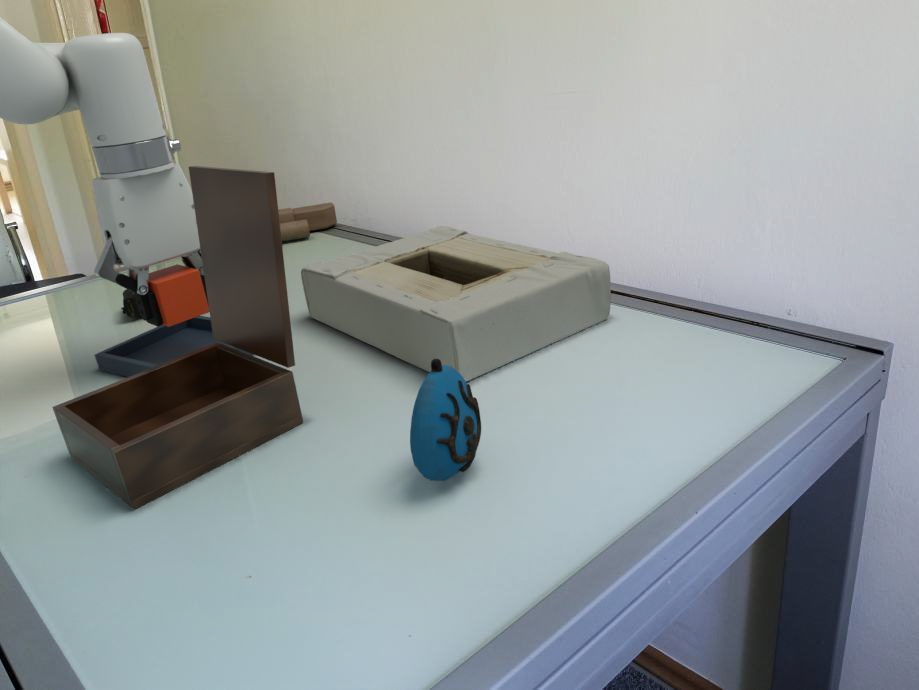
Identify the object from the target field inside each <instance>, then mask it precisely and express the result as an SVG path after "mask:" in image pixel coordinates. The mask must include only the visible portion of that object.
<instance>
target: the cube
mask: <svg viewBox="0 0 919 690" xmlns="http://www.w3.org/2000/svg"><path fill="white" fill-rule="evenodd" d="M149 289H150V292H153V293H154V294H155V296H156V300H157V303H158V307H159V310H160V313H161V317H162V320H163V324H162V325H165V326H167V327H170V326H173V325H176V324H178V323H181V322H184V321H187V320H189V319H192V318H195V317H197V316H204V315H205V314H209V313H210V311H209V306H208V303H207V299H206V295H205V291H204V288H203V284H202V280H201V276H200V273H199V270H197V269H193V268H190V267H186V266H185V265H182V264H178V263H176V264H174V265H170V266H168V267H164V268H161V269H157V270H154V271H152V272H149Z"/></svg>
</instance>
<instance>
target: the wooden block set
mask: <svg viewBox="0 0 919 690" xmlns="http://www.w3.org/2000/svg"><path fill="white" fill-rule="evenodd" d="M278 212H279V221H280V230H281V239H282V242H286V241H292V240H298V239H304V238H309V237H310V236H311V232H313V231H318V230H324V229H328V228H332V227H333V226H336V225H337V223H338V220H337V214H336V208H335V204H334V203H333V202H324V203H318V204H313V205H307V206H300V207H294V208H292V207H286V208H280V209H279V208H278Z"/></svg>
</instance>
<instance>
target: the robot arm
mask: <svg viewBox="0 0 919 690" xmlns="http://www.w3.org/2000/svg"><path fill="white" fill-rule="evenodd" d="M144 51H145V50H144V48H143V45H142V43H141V42H140V40H139V39H138V38H137V37H136V36H135V35H134V34H131V33H128V32H107V33H99V34H98V33H97V34H89V35H88V34H87V35H81V36H76V37H73V38H71V39H69V40H67V41H65V42H34V41H31V40H30V39H28V38H27V37H26V36H25V35H23V34H22V33H21V32H20V31H18V30H17V29H16V28H15V27H13V26H12V25H11V24H10V23H8V22H7V21H6V20H5V19H4V18H2V17H1V16H0V119H2V120H4V121H6V122H9V123H13V124H18V125H34V124H39V123H42V122H45V121H47V120H50V119H52V118H54V117H58V116H61V115H64V114H67V113H71V112H76V111H80V114H81V118H82V120H83V124H84V127H85V130H86V133H87V137H88V140H89V143H90V147H91V150H92V153H93V156H94V159H95V163H96V166H97V169H98V173H99V177H95V178H93V179H92V189H93V197H94V204H95V210H96V216H97V220H98V225H99V230H100V234H101V238H102V239H101V240H102V242H103V246H104V247H103V249H102V252H101V254H100V255H99V257H98V258H99V259H98V261H97V263H96V265H95V267H94V270H93V274H94V275H95V276H96V277H98V278H101V279H103V280H106V281H109V282H111V283H114V284H116V285H118V286H120V287H122V288H124V289H125V290H126V289H128V290H130V291H132V292H134V295H135V299H136V302H137V305H138V308H139V312H140V315H139V316H140V317H141V319H142V320H144V321H146V323H148V324H150V325H152V326H155V327H158V326H161V325H162V324H163V320H162V317H161V313H160V310H159V307H158V303H157V300H156V296H155V294H154V293H153V292H150V289H149V273H150V267H151V266H154V265H158V264H161V263H164V262H167V261H171V260H174V259H177V258H180V260H181V262H182V264H183V266H186V267H190V268H193V269H197V270H199V273H200V276H201V280H202V284H203V288H204V291H205V295H206V299H207V303H208V298H207V291H206V284H205V277H204V270H203V263H202V256H201V249H200V243H199V236H198V229H197V222H196V215H195V208H194V201H193V194H192V187H191V185H190V184H189V182H188V179H187V177H186V175H185V173H184V171H183V169H182V167H181V165H180V164H179V163H174V160H175V157H174V154H175V153H176V152H180V151H181V150H182V149H181V148H182V145H181V142H180V140H179V139H177V138H174V139H172V138H170V137H169V135H167V134H166V130H165V126H164V121H163V119H162V115H161V112H160V108H159V103H158V100H157V96H156V93H155V89H154V85H153V81H152V77H151V74H150V70H149V66H148V62H147V58H146V55H145V52H144ZM115 265H116V266H124V267H125V268H126V270H127V271H126V272H127V273H126V274H127V275H126V274H124V273H121V272H119V271H117V270H116V269H115V268H114V267H115ZM208 306H209V304H208Z"/></svg>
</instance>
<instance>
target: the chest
mask: <svg viewBox="0 0 919 690" xmlns="http://www.w3.org/2000/svg"><path fill="white" fill-rule="evenodd" d="M52 411H53V413H54V416H55V419H56V422H57V424H58V426H59V430H60V432H61V435H62V438H63V440H64V444H65V446H66V449H67V451H68V454H69V456H70V459H71V460H73V461H74V462H75V463H76V464H78V465H79V466H80V467H81V468H82V469H84V471H86V472H87V473H89V474H90V475H91V476H92V477H94V479H96V480H97V481H98V482H99V483H101V484H102V485H103V486H104V487H105V488H107V489H108V490H109V491H110V492H112V493H113V494H114V495H115V496H117V497H118V498H119V499H120V500H121V501H122V502H124V503H125V504H127V505H128V506H129V507H130V508H131V509H132V510H134V511H135V510H137V509H139V508H141V507H142V506H144V505H146V504H148V503H150V502H152V501H154V500H156V499H158V498H161V496H164V495H165V494H168V493H169V492H171V491H173V490H175V489H177V488H179V487H181V486H183V485H185V484H187V483H189V482H191V481H193V480H194V479H197V478H199V477H201V476H203V475H204V474H206V473H208V472H210V471H212V470H214V469H216V468H218V467H220V466H222V465H224V464H226V463H228V462H230V461H232V460H233V459H236V458H238V457H240V456H242V455H243V454H245V453H248V452H249V451H251V450H253V449H255V448H257V447H258V446H260V445H263V444H264V443H267V442H269V441H270V440H272V439H275V438H276V437H278V436H280V435H282V434H284V433H286V432H288V431H290V430H292V429H294V428H296V427H297V426H299V425H302V424H303V423H304V418H303V414H302V408H301V405H300V400H299V394H298V390H297V385H296V382H295V377H294V373H293V371H292V370H289V369H288V368H286V367H285V368H284V367H283V366H280V365H278V364H275V363H273V362H269V361H268V360H264V359H263V358H260V357H258V356H255V355H249V354H247V353H244V352H241V351H239V350H236V349H234V348H231V347H229V346H226V345H224V344H221V343H219V342H217V343H214V344H212V345H209V346H206V347H204V348H201V349H199V350H196V351H194V352H191V353H189V354H186V355H184V356H181V357H178V358H176V359H173V360H171V361H168V362H166V363H163V364H161V365H158V366H156V367H153V368H150V369H148V370H145V371H143V372H140V373H138V374H135V375H133V376H130V377H125V378H123V379H120V380H117V381H115V382H112V383H110V384H107V385H104V386H102V387H100V388H97V389H95V390H92V391H90V392H86V393H84V394H82V395H79V396H77V397H74V398H71V399H70V400H66V401H64V402H61V403H59V404H57V405H54V406H52Z"/></svg>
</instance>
